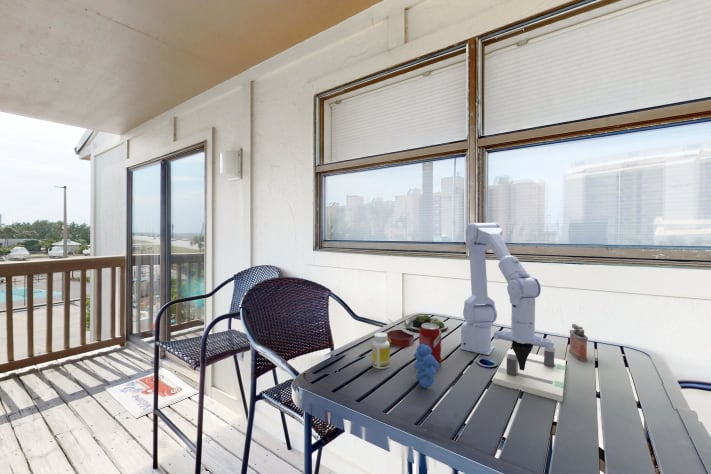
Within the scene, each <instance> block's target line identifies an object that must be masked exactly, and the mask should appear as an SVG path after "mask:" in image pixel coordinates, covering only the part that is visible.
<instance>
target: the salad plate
mask: <svg viewBox="0 0 711 474" xmlns="http://www.w3.org/2000/svg"><path fill="white" fill-rule="evenodd" d="M424 323H433V324H437V325H439V329H440V331H441V333H444V332H446V331H447V330H448V328H449V326H448V324H447V323H445V322H444V321H443V320H442V319H440V318H437V317H430V316H429V315H427V314H424V315H422V314H421V313H420V314H418V315H417V314H416V315H414V317H412V318H411V317H410V318H407V319H406V320H405V324H406V326H405V328H407V329H409V331H410V330H411V331H412V332H415V333H419V330H420V328H421V325H422V324H424Z"/></svg>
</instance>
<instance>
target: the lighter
mask: <svg viewBox="0 0 711 474" xmlns="http://www.w3.org/2000/svg"><path fill="white" fill-rule="evenodd" d="M571 328H572V329H569V350H568V353H569V355H570V356H572V357H573V358H574V359H575V360H577V361H579V362H583V361H584V363H586V362H585V361H587V362H588V357H587V356H588V355H587V351H588V340H589V338H588V336H587V335H586V334H585V329H584V328H583V326H579V325H577V324H575V323H572V324H571Z"/></svg>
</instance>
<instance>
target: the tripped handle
mask: <svg viewBox="0 0 711 474" xmlns="http://www.w3.org/2000/svg"><path fill="white" fill-rule="evenodd" d="M517 372H518V360H517V357H516V355H512V354H509V355H508V357H507V374H510V375H514V376H516V375H517Z"/></svg>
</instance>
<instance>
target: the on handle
mask: <svg viewBox="0 0 711 474" xmlns="http://www.w3.org/2000/svg"><path fill="white" fill-rule="evenodd" d="M555 352H556V351H555V348H553V350H550V349H548V348H544V352H543V356H544V365H546V366H550V367H554V358H555V354H556V353H555Z"/></svg>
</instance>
